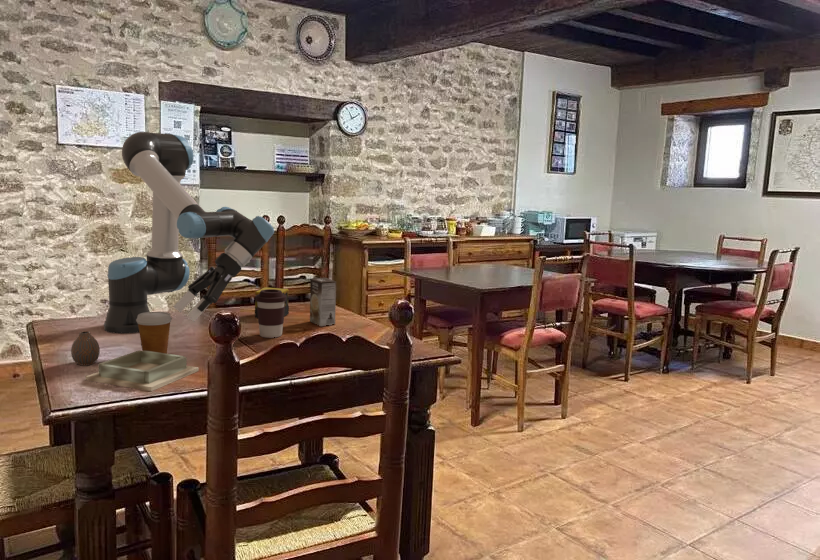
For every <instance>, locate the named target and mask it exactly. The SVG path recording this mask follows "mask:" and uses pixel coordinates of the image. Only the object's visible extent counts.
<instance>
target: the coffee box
mask: <svg viewBox="0 0 820 560" xmlns="http://www.w3.org/2000/svg"><path fill="white" fill-rule="evenodd" d="M309 289H310V290H309V291H310V293H309V297H310V298H309V299H310V301H309V321H310V322H311V323H313V324H314V325H316V324H317V325H316V326H318V325H319V327H326V325H329V326H333V325H332V324H335V325H336V308H337V307H336V306H337V305H336V304H337V303H336V301H337V300H336V299H337V281H336V280H334V279H330V278H328V277H315V278H310V288H309Z"/></svg>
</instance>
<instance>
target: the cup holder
mask: <svg viewBox="0 0 820 560" xmlns="http://www.w3.org/2000/svg"><path fill="white" fill-rule="evenodd" d="M187 359H188V358H187V356H185V355H179V354H174V353H172V354H171V353H167V354H166V353H159V352H152V351H145V350H144V351H142V350H136V351H132V352H130V353H127V354H124V355H121V356H118V357H115V358H112V359H108V360H106V361H103V362H100V363H98V371H97V372H94V373H91V374H88V375H86V376H85V381H87V382H95V383H99V384H106V385H113V386H117V387H125V388H131V389H135V390H142V391H147V392H148V391H149V392H154V391H155V390H158V389H160V388H162V387H165V386H167V385H169V384H171V383H174V382H176V381H178V380H180V379H183V378H186V377H188V376H190V375H192V374H195V373H197V372H199V371H200V370H199V367H197V366H192V365H187V362H188V361H187Z"/></svg>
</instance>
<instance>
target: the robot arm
mask: <svg viewBox="0 0 820 560" xmlns="http://www.w3.org/2000/svg"><path fill="white" fill-rule="evenodd" d="M121 157H122V160H123V163H124V165H125V166H126V168H127V169H128V170H129V171H130V172H131V174H132V175H134V176H136V177H139V178H140V179H141V180H142V181H143V182H144V183H145V184H146V186H147V187H148V188H149V189H150V190H151V191H152V214H151V215H152V220H151V222H152V224H151V249H150V250H149V251H148V252H146V258H145V257H143V256H132V257H124V258H119V259H115V260H112V261H111V262H110V263H109V264H108V266H107V267H108V268H107V282H108V283H107V284H108V303H109V305H108V310H107V312H106V313H107V314H106V318H105V321H104V323H103V328H104V329H103V330H104V331H105V332H107V333H111V334H120V335H121V334H138V333H139V327H138V323H137V321H136V319H137V317H138V314H141V313H145V312H151V311H150V309H149V305H148V296H149V295H151V296H152V295H156V294H164V293H167V294H168V293H173V292H176V291H180V290H182V289H183V288H184V287H185V286H187V284H188V281H189V278H190V267H189V265H188V264H189V263H188V262H187V260H185V259H184V258H183V256H184V255H183V253H182V252H181V251H180V250H179V235H180V236H181V237H183V238H185V239H203V238H205V239H206V238H216V237H231V238H233V239H234V240H232V241H231V242H230V243H229V244H228V245H227V247H226V248H225V249H224V252H222V253H220V255H218V257H216V258H215V260H214V262H215V264H216V265H217V266H216V267H214V266H210V267H209V269H208V270H207V271H205V272H204V273H203V274H201V275H200V276H199V277H198V278H196V279H195V280H194V281H193V282H192V283H190V284H189V285H188V286H187V288H188V289H187V291H186V292H185V293H184V294H183V295H182V296H181V297H180V298H179V300H178V301H177V302H175V304H174V305H173V306H172V307H173V308H174V309H175V310H177V311H178V312H179V313H182V312H183V311H184V310H185V308H187V307H188V306H189V304H190V303H192V301H193V300H194V299H195V298H197V296H198V294H199V293H201V292H202V291H204V290H205V289H206V288H207V289H208V290H207V292H206V293H205V294H204V295H203V296H202V297H201V299H199V301H198V302H197V303H196V304H195V305H194V306H193V307H192V309H191V310H190V311H189V312H188V313H187V314H186V317H188V318H189V320H191V321H192V322H196V320H197V319H199V317H200V316H201V315H202V314H203V313H204V311H206V309H207V308H208V307H209V306H210V305H212V304H217V302H218V300H219V299H220V297H221V296H222V294H223V293H224V291H225V289H226V288H227V286H228V285H229V283H230V282H231V281H232V279H233V278H235V277H236V276H237V275H238V274H239V273H240V272H241V271H242V268H245V266H246V265H247V264H251V261H250V260H252V259H253V257H255V255H256V254H257V253H258V252H259V251H260V250H261V249H262V248H263V247H264V245H266V244H267V243H268V241H269V240H270V239H271V237H272V236H273V235H274V233H275V229H274V227H273V224H271V223H270V222H269V221H268V220H267V219H265V218H264V217H263V216H260V215H256V216H255V217H254V218H252V219H250V218H249V217H247V216H245V215H243V214H242V213H240V212H239V211H237V210H235V209H234V208H231V207H230V206H221V208H219V209H217V210H216V211H205V210H204V209H203V208H202V207H201V205H199V204H198V202H196V200H195V199H194V198H193V197H192V195H190V193H188V192H187V191H186V189H185V188H184V187H183V186H182V185H181V181H182V180H183V179H185V177H186V171H188V170H189V169H191V167H192V166H193V164H194V157H195V156H194V152H193V148H192V145H191V143H189V141H188V140H187V139H186V138H185V137H184V136H183V135H177V134H172V133H161V132H148V131H139V132H135V133H132V134H130V135H129V136H128V137H127V138H125V141H124V142H123V144H122V147H121ZM208 287H209V288H208Z"/></svg>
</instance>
